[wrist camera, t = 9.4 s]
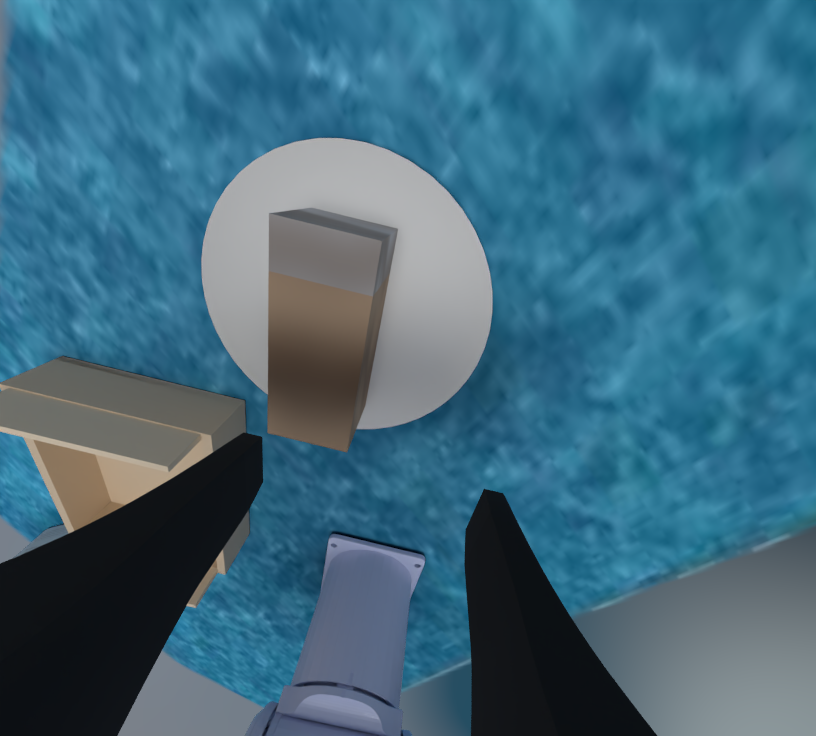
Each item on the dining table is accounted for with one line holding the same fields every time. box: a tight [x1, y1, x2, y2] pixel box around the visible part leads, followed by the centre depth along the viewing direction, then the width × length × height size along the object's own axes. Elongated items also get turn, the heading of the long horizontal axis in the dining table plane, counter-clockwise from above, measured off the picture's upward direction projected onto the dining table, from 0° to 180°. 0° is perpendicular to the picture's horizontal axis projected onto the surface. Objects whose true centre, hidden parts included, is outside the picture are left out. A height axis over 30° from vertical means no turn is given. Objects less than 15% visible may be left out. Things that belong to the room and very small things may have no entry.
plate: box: [201, 138, 492, 429], centre depth 18 cm, size 15×15×1 cm
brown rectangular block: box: [268, 207, 398, 452], centre depth 16 cm, size 10×4×4 cm, turn 168°
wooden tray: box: [0, 356, 250, 608], centre depth 22 cm, size 14×12×6 cm
